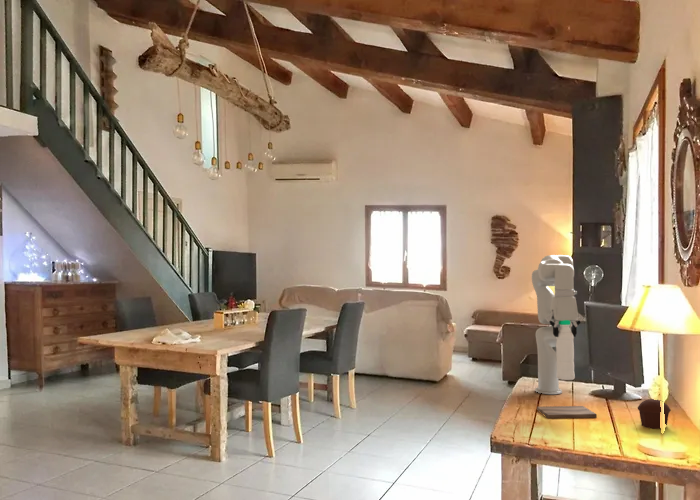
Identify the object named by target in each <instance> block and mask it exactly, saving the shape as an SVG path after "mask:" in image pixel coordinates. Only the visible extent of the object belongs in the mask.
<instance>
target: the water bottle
mask: <svg viewBox="0 0 700 500" xmlns="http://www.w3.org/2000/svg"><path fill="white" fill-rule="evenodd" d="M570 323H571V322H570V321H569V320H563V321H559V324H558V327H560V328H559V330H558V337H556V339H557V341H556V347H555V352H556V355H557V378H558V379H559V380H562V381H573V380H574V379H575V378H576V376H575V346H574V345H575V344H574V342H575V341H574V338H575V337H574V336H573V334H572V332H571V330H570V328H569V326H570Z"/></svg>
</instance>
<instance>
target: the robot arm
mask: <svg viewBox="0 0 700 500" xmlns="http://www.w3.org/2000/svg"><path fill="white" fill-rule="evenodd" d="M574 278H575V269H574V260H573V258H572V257H571V256H570V255H566V254H565V255H563V254H558V255H557V254H556V255H555V254H551V255H546V256H544V257H542V259H541V260H540V263H538V267H537V269H535V270H534V271H532V273H531V282H532V284H531V285H533V286H532V287H533V289H534V291H535V294H536V305H537V318H538V321H539V323H540V324H542V325H543V324H544V325H550V326H543V327H542V326H541V327H539V328H537V329H536V331H535V340H536V348H537V377H538V378H537V381H538V382H537V383H538V384H537V385H538V386H537V387H535V389H534V391H536V392H535V393H537V392H538V393H537V394H541V393H542V395H560V394H562V393H563V389H561V388H559V386H560V385H559V384H560V383H559V380H560V379H558V378H557V355H556V350H555V349H554V348H556V341H557V339H556V337H558V330H559V328H560V326H559V321H563V320H569V321H570V322H571V323H570V326H569V328H570V330H571V332H572V334H573V336H574V338H576V336H577V333H578V332H577V331H578V330H577V328H578V326H579V325H580V324H581V323H582V321H583V320H584V316H583V315H582V314H581V313H579V311H578V305H577V300H576V299H577V297H576V296H575V295H578V291H577V290H575V288H574V286H575V285H574V282H575V281H574ZM550 287H554V292H553V291H552V289H551V288H550Z"/></svg>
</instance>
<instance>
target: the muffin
mask: <svg viewBox="0 0 700 500" xmlns="http://www.w3.org/2000/svg"><path fill="white" fill-rule="evenodd" d="M654 399H655V398H649V399H644V400H643V401H641V402H640V403H639V405H638V406H637V410H638V411H639V418H640V424H641V427H644V428H648V429H653V430H661V429H660V412H661V407H660V401H661V400H660V399H657V400H654ZM671 411H672V410H671V408H670V406H669V405H668V404H667V403H665V402H664V414H665V424H666V425H667V426H668V420H669V413H670V412H671Z"/></svg>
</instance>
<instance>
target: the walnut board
mask: <svg viewBox="0 0 700 500" xmlns="http://www.w3.org/2000/svg"><path fill="white" fill-rule="evenodd" d="M537 410H538V411H537ZM536 411H537V412H539V411H540V412H541V413H542V414H541V413H540V412H539V413H540V414H541V415H543V414H544V415H545V416H546V417H545V416H544V415H543V416H544V417H545V418H547V419H596V418H597V417H598V416H597V413H596V412H594V411H592V410H590V409H589V408H587V407H585V406H584V405H569V406H568V405H564V406H563V405H561V406H560V405H559V406H557V405H556V406H555V405H553V406H549V405H548V406H547V405H546V406H536Z"/></svg>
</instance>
